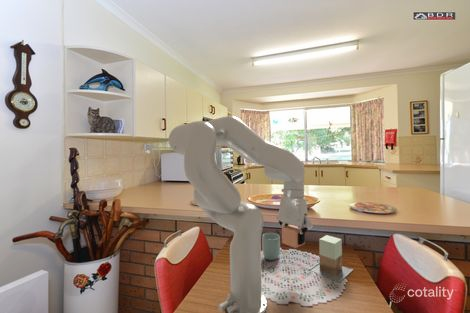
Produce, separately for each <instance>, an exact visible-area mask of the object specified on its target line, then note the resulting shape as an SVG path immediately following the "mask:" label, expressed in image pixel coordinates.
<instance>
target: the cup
mask: <svg viewBox="0 0 470 313" xmlns="http://www.w3.org/2000/svg"><path fill="white" fill-rule="evenodd" d="M261 245H262V247H261V248H262V254H263V257H264V258H265V259H266V260H267V259H268V261H276V260H278V259H279V257H280V253H281V252H280V251H281V237H280V235H279V234H278V233H275V232H266V233H263V234H261ZM277 258H278V259H277ZM275 259H276V260H275Z"/></svg>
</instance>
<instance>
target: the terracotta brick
mask: <svg viewBox="0 0 470 313" xmlns="http://www.w3.org/2000/svg"><path fill="white" fill-rule="evenodd" d="M298 234H299V230H298V227H297V226H293V225H290V224H289V225H287V226H284V227H282V228H281V244H283V245H287V246H289V247H292V248H295V249H297V248H299V247H301V246H303V245H305V242H306V241H305V242H304V244H301V245H298Z"/></svg>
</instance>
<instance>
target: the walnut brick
mask: <svg viewBox="0 0 470 313" xmlns="http://www.w3.org/2000/svg"><path fill="white" fill-rule="evenodd" d="M319 261H320V270H322V271H324V272H327V273H329V274H332V275H334V276H336V275H337V274H338V273H339V272H340V271H342V266H343V254H342V255H341V256H339V257H338V258H337V259H335V260H334V259H331V258H328V257H325V256H323V255H320V254H319Z"/></svg>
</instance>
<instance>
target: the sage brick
mask: <svg viewBox="0 0 470 313" xmlns="http://www.w3.org/2000/svg"><path fill="white" fill-rule="evenodd" d="M318 239H319V241H318V243H319V244H318V245H319V249H318V251H319V252H318V253H319V254H320V255H323V256H325V257H328V258H331V259H334V260H335V259H337V258H338V257H339V256H341V255H342V256H343V246H342V244H343V242H342V241H343V240H342V238H339V237H335V236H332V235H328V234H326V235H324V236H323V237H321V238H318ZM320 255H319V256H320Z"/></svg>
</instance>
